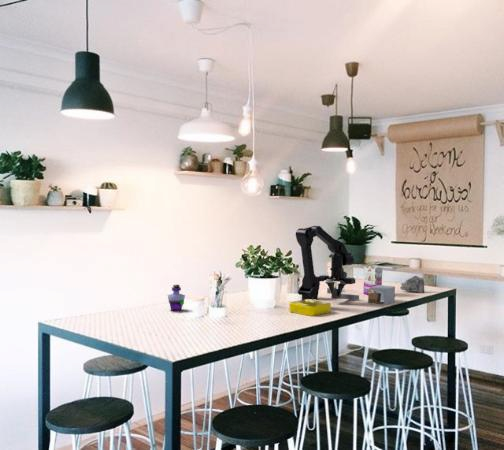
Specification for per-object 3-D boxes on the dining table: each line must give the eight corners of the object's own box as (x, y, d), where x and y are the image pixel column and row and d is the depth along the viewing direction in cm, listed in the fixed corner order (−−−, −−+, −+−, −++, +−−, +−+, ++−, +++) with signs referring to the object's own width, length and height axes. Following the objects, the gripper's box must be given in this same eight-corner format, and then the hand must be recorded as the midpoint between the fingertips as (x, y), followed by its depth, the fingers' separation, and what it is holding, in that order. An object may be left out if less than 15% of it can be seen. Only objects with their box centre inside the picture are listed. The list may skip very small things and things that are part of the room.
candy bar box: (382, 296, 300) (382, 267, 300) (375, 296, 298) (375, 268, 298) (369, 293, 310) (370, 265, 310) (363, 293, 308) (363, 266, 308)
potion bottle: (181, 312, 243) (182, 286, 242) (164, 311, 244) (164, 285, 244) (187, 308, 251) (188, 283, 251) (170, 308, 253) (170, 283, 252)
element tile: (287, 311, 248) (287, 301, 248) (307, 307, 259) (307, 298, 259) (312, 316, 238) (312, 306, 238) (332, 312, 248) (332, 302, 248)
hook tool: (342, 299, 267) (343, 289, 268) (331, 298, 271) (332, 288, 271) (358, 300, 285) (359, 290, 285) (347, 298, 288) (348, 289, 289)
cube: (377, 304, 274) (377, 294, 274) (368, 303, 277) (368, 293, 277) (380, 302, 279) (380, 293, 278) (371, 301, 281) (371, 292, 281)
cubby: (385, 304, 272) (385, 289, 272) (368, 302, 277) (369, 287, 277) (394, 301, 284) (394, 286, 283) (378, 299, 289) (378, 285, 288)
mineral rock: (399, 291, 320) (399, 275, 320) (407, 290, 328) (408, 273, 327) (418, 294, 311) (419, 277, 311) (427, 292, 319) (427, 276, 318)
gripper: (359, 266, 273) (359, 296, 274) (327, 263, 284) (326, 292, 284) (351, 267, 264) (350, 298, 265) (318, 265, 275) (317, 295, 275)
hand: (336, 296), depth 272 cm, fingers closed on hook tool, 3 cm apart
